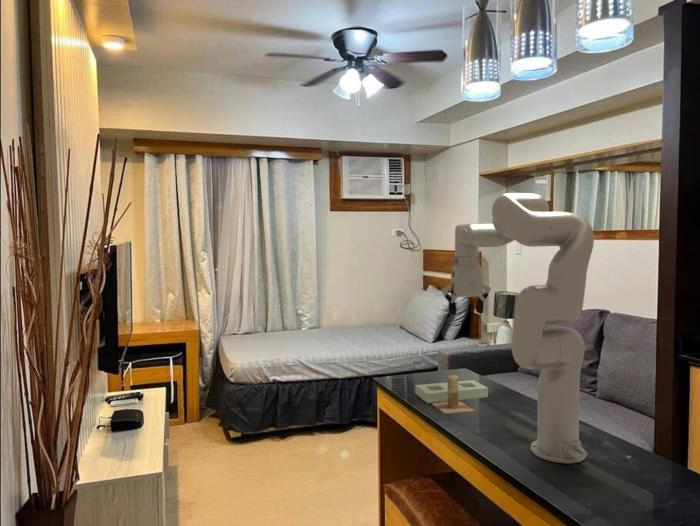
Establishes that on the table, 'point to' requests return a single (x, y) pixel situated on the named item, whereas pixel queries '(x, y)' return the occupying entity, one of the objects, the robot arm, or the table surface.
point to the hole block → (440, 391)
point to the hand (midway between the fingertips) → (466, 313)
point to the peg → (452, 391)
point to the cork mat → (446, 410)
